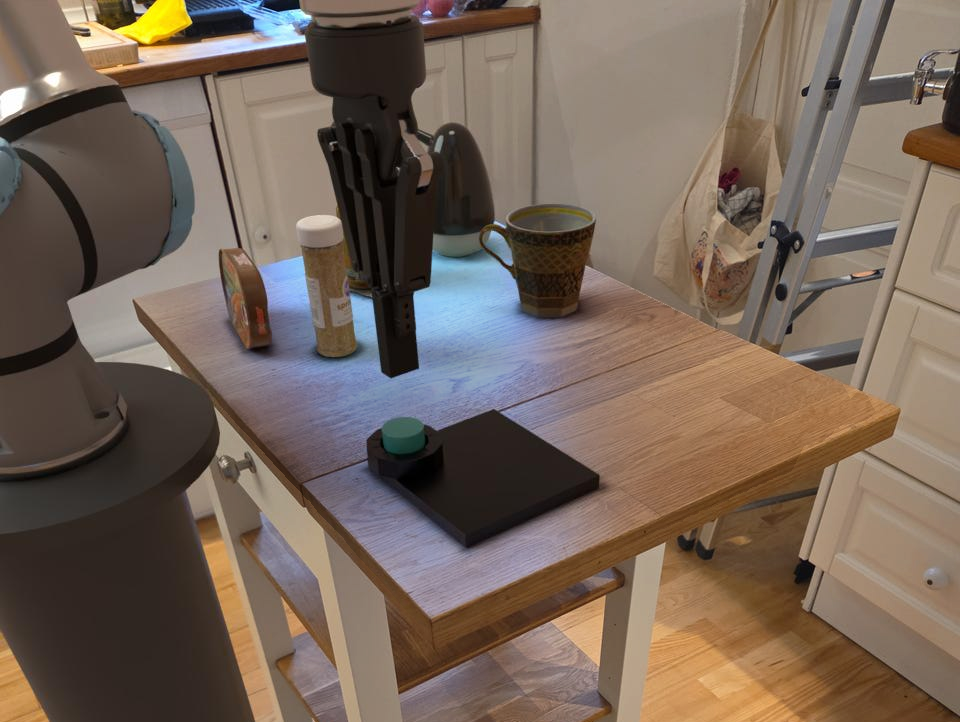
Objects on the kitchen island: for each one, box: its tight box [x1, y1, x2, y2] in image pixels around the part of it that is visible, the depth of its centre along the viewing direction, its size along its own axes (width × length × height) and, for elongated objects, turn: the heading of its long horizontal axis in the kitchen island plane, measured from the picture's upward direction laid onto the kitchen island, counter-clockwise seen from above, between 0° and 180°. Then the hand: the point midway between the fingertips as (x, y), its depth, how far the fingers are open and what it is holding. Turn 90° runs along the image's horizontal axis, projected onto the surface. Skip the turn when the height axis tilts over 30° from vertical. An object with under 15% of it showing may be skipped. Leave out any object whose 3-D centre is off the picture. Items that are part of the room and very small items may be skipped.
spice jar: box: [295, 214, 358, 358], centre depth 92 cm, size 5×5×14 cm
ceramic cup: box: [479, 203, 597, 319], centre depth 100 cm, size 13×10×10 cm
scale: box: [365, 408, 601, 548], centre depth 76 cm, size 16×15×3 cm
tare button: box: [381, 416, 425, 454], centre depth 75 cm, size 4×4×2 cm
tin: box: [218, 247, 273, 350], centre depth 98 cm, size 15×3×8 cm, turn 23°
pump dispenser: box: [417, 121, 496, 258], centre depth 113 cm, size 10×10×15 cm
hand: (400, 370), depth 71 cm, fingers closed
